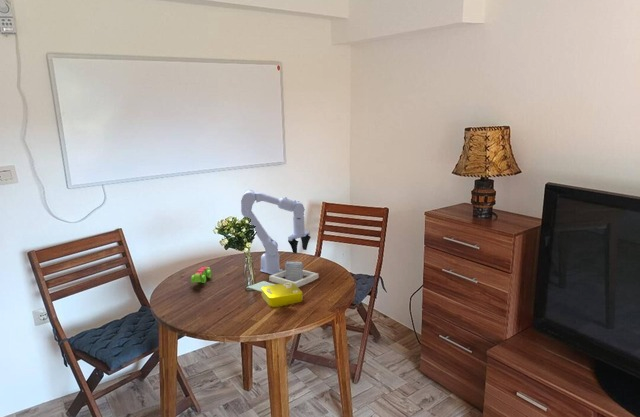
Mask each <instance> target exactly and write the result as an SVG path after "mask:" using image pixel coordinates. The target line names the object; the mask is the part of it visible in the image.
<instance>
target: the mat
mask: <svg viewBox="0 0 640 417" xmlns="http://www.w3.org/2000/svg"><path fill="white" fill-rule="evenodd" d="M270 285H276V283H273V282H270V281H268V282H267V281H266V280H262V281H260V282H257V283H254V284H252V285H250V286H247V288H248V289H250V290H255V291H256V292H257V291H258V292H259V293H262V290H261V288H262V287H264V286H270Z"/></svg>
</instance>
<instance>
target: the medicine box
mask: <svg viewBox="0 0 640 417" xmlns="http://www.w3.org/2000/svg"><path fill="white" fill-rule="evenodd" d="M303 264H304V262H302V261H290V260H289V261H286V263H285V264H284V270H285V277H284V279H287V280H290V281H294V282H296V281H298V280H301V279H303V278H304V275H303V270H304V267H303Z"/></svg>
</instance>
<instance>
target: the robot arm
mask: <svg viewBox="0 0 640 417" xmlns="http://www.w3.org/2000/svg"><path fill="white" fill-rule="evenodd" d="M259 202H265V203H269V204H272V205H277V207H278V208H279V209H281V210H285V211H287V212H293V213H292V214H293V216H292V219H293V220H292V223H293V224H292V225H293V226H292V227H293V234H291V235H289V236H288V237H287V241H288V243H289V245H290V247H291V250H292V254H298V245H299V240H297V239H300V240H301V247H302V250H303V251H307V248H308V245H309V242H310V239H312V238H311V236H310V235H311V232H310V231H308V230H306V231H305V229H306V228H305V226H306V225H305V213H304V212H305V206H304V204H303V202H300V201H297V200H292V199H289V198H288V197H287V196H285V197H281V198H278V197H274V196H272V195H270V194H266V193H264V192H260V191H258V190H257V191H256V190H251V189H248V190H245V192H244V193H243V195H242V197H241V200H240V204H241V205H240V206H241V207H240V212H241V215H242V216H243V217H244V218H245V217H248V218H250V219H251V223H250V224H251V225H254V226H256V228H255V231H256V232H257V233H255V235H256V236H257V237H258V239H259V240H260V242H261V244H262V246H263V248H264V252H265V253H263V254H261V256H260V270H259V271H260V272H262V273H265V274H269V275H273V274H276V273H279V272H281V271H284V270H283V269H282V268H280V253H279V251H278V250H279V247H278V246H279V245H278V242H277V241H275V240H274V239H273V238H272V237H271V236H270V235H269V234H268V232H267V231H266V229H265V228H264V227H263V224H261V222H260V221H259V220H258V218H257V216H256V215H255V214H254V212H253V211H252V210H253V209H252V208H253V206H254V204H255V203H259Z"/></svg>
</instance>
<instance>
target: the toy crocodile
mask: <svg viewBox="0 0 640 417" xmlns="http://www.w3.org/2000/svg"><path fill="white" fill-rule="evenodd" d="M207 278H212V270H211V267H210V266H209V267H208V266H202V267H200V268H198V270H196V272H195V273H194V274H192V275H191V277H190V282H191V283H192V284H195V283H202V284H206V283H207Z"/></svg>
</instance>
